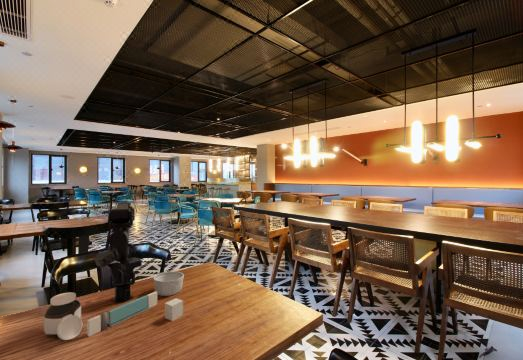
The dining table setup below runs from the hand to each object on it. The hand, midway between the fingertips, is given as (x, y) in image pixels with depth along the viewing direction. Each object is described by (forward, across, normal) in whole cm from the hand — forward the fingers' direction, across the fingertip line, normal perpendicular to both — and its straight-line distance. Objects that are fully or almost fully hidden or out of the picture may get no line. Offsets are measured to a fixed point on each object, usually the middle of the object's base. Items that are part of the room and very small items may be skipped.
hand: (119, 282), depth 99 cm
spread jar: (+12, -4, -16) cm, 20 cm away
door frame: (+12, +4, 0) cm, 13 cm away
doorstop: (+12, +18, +10) cm, 24 cm away
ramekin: (+12, -2, +24) cm, 27 cm away
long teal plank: (+11, +4, +1) cm, 12 cm away
